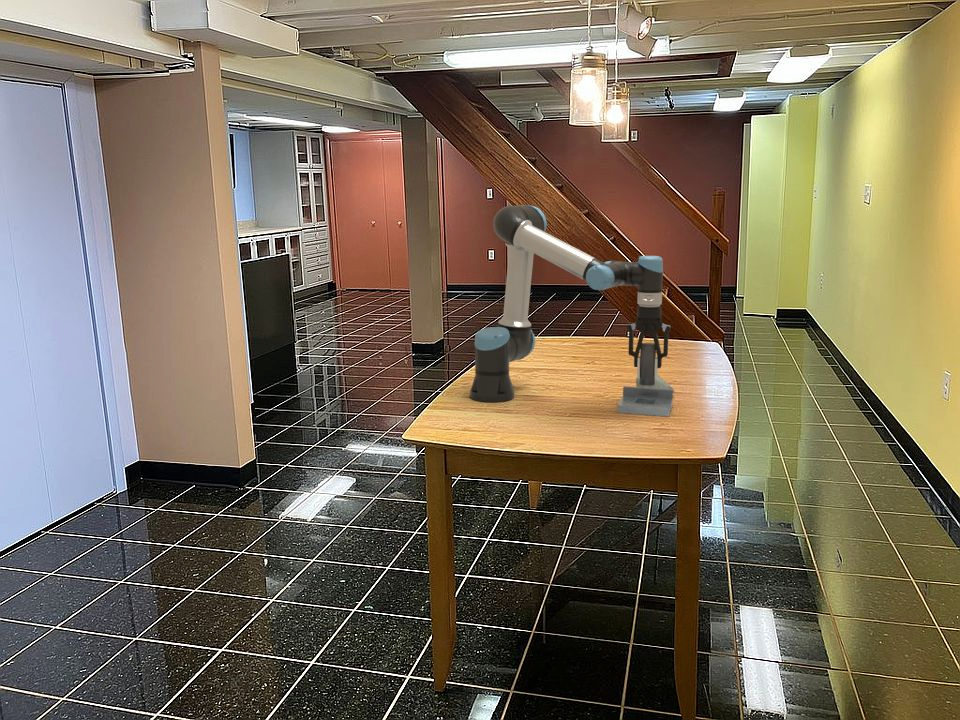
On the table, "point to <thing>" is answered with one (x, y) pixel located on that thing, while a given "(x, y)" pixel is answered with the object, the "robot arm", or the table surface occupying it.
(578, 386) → the table surface
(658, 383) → the decorative stone
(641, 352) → the dark grey round peg
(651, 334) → the robot arm
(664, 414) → the plate
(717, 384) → the table surface
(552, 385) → the table surface
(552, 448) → the table surface
